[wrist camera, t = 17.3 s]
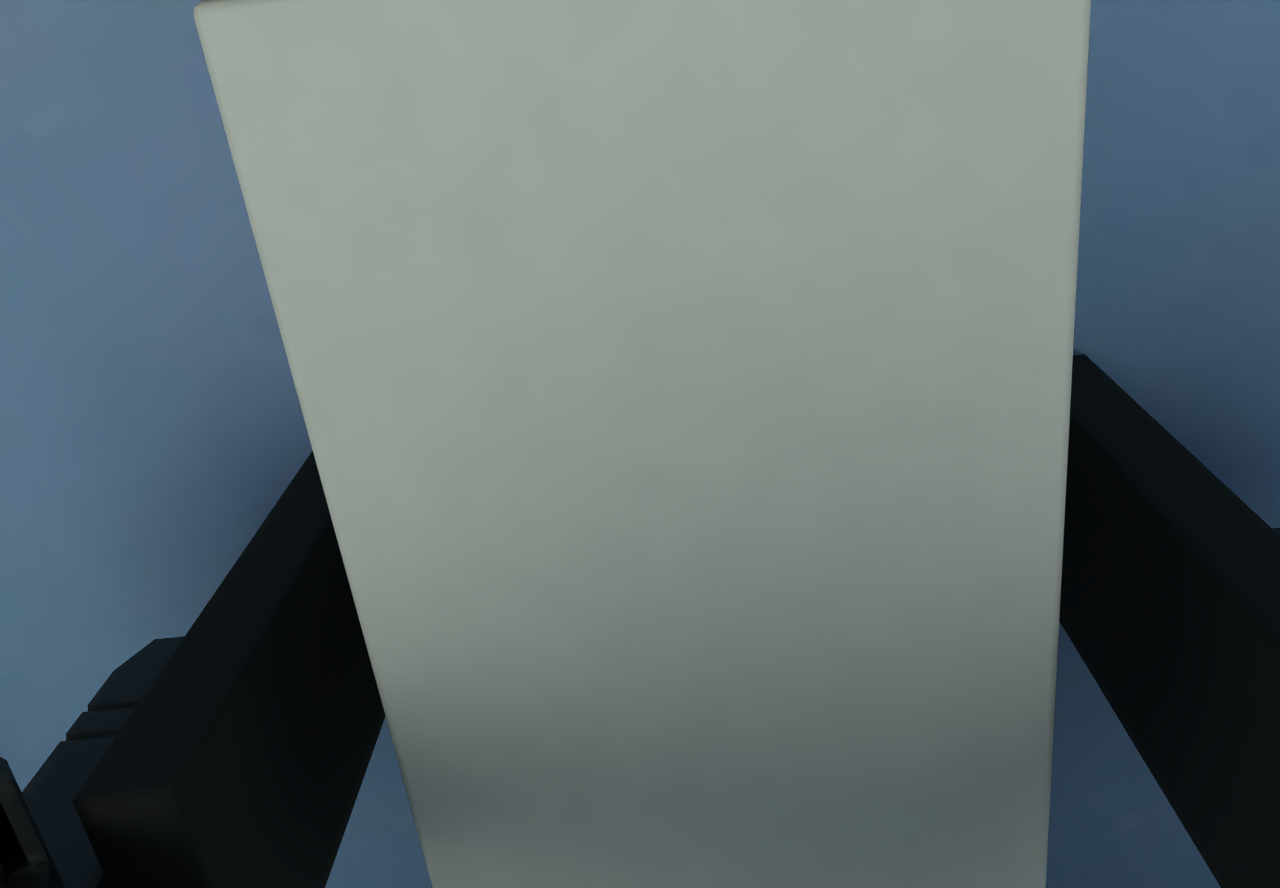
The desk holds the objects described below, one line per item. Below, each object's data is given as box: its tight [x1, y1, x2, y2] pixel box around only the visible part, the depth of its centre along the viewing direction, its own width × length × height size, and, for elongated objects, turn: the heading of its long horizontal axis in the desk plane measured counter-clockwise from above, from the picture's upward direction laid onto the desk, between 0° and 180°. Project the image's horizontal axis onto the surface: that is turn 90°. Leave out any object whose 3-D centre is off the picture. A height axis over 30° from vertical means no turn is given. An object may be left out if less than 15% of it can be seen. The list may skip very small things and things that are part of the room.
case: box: [194, 0, 1091, 888], centre depth 12 cm, size 13×6×5 cm, turn 7°
